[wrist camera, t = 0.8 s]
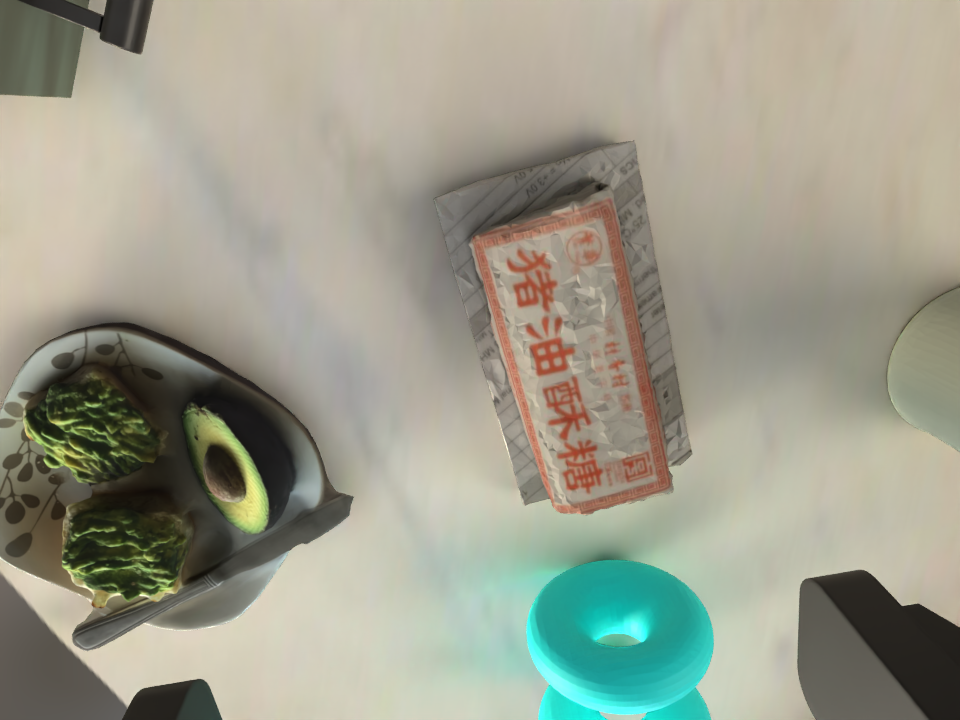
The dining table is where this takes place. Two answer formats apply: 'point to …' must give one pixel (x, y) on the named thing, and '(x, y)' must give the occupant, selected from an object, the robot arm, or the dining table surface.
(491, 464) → the dining table surface
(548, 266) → the packaged product
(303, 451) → the salad plate
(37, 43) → the drawer
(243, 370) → the dining table surface
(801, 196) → the dining table surface
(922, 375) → the can
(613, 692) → the donuts
